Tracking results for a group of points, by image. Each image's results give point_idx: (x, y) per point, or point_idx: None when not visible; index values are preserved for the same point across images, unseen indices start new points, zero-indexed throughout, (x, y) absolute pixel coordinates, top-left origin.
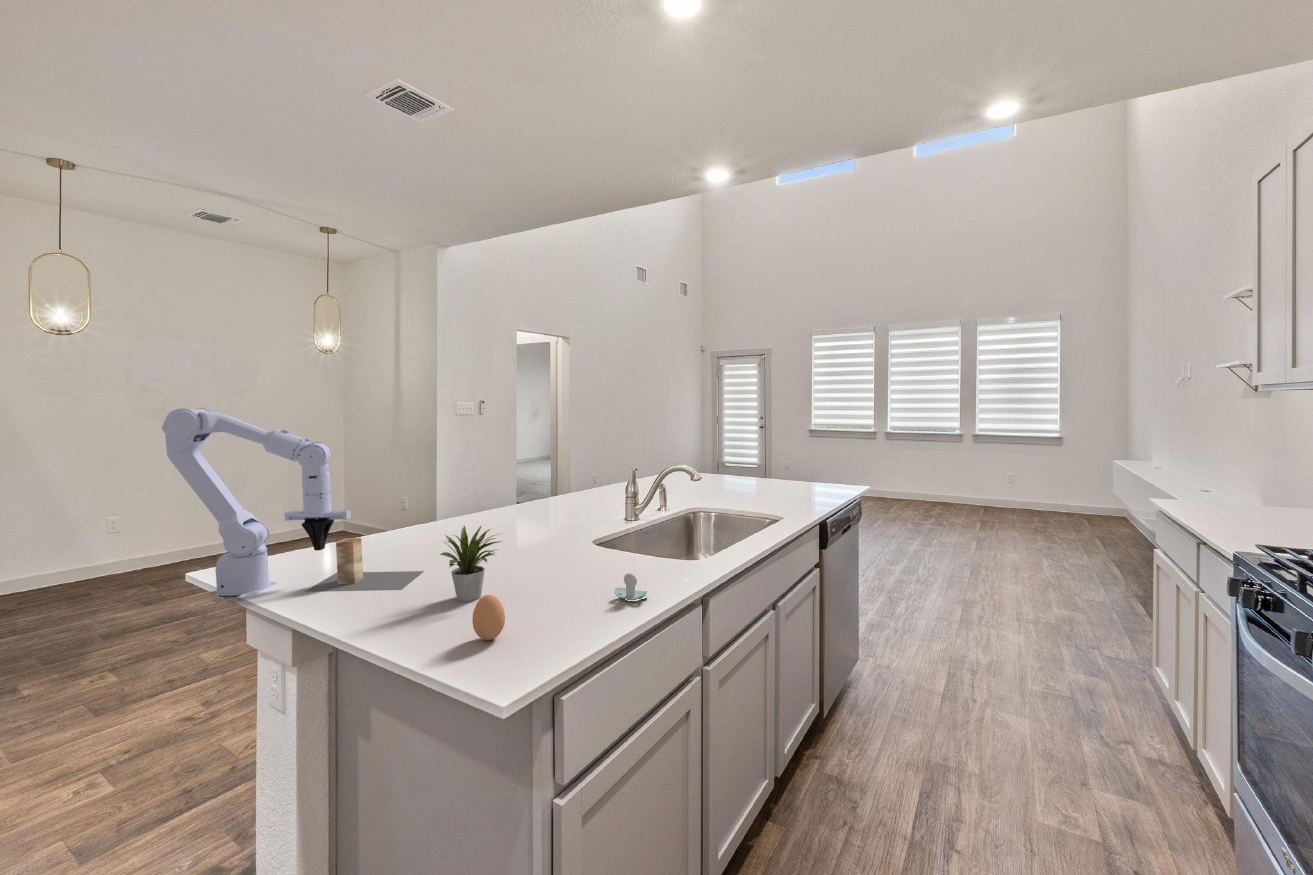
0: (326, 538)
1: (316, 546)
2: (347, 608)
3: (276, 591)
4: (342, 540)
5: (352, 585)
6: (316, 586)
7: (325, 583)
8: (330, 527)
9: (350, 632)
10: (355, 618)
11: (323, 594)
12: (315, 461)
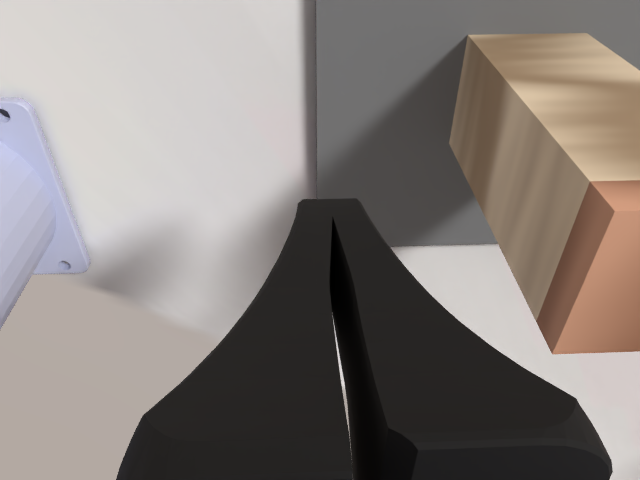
0: (391, 251)
1: (332, 305)
2: (574, 367)
3: (137, 208)
4: (605, 294)
5: None
6: (339, 180)
7: (365, 132)
8: (482, 345)
9: (614, 472)
10: (615, 420)
11: (420, 249)
12: None
